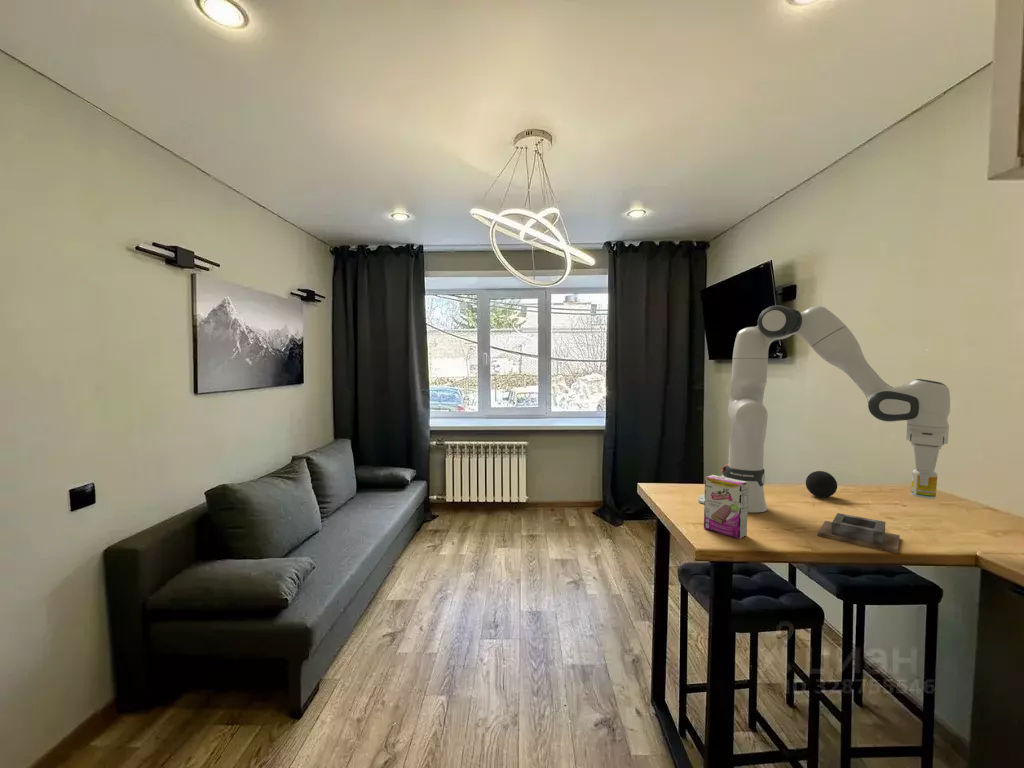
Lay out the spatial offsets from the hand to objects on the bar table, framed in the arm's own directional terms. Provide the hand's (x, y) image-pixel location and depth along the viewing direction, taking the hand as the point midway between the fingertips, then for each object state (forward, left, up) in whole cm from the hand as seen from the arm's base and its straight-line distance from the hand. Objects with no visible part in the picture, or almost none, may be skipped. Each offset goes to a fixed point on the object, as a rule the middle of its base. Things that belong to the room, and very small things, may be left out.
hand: (923, 483), depth 129 cm
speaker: (-29, +30, -17) cm, 45 cm away
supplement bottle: (0, 0, -4) cm, 4 cm away
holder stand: (-14, -11, -17) cm, 24 cm away
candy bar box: (-44, -34, -17) cm, 58 cm away
